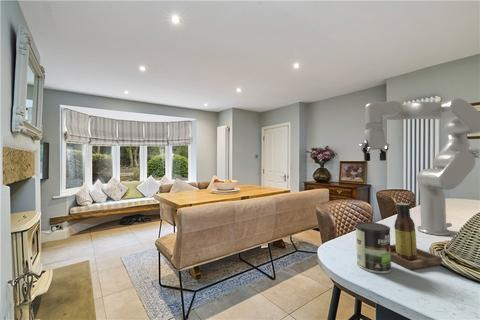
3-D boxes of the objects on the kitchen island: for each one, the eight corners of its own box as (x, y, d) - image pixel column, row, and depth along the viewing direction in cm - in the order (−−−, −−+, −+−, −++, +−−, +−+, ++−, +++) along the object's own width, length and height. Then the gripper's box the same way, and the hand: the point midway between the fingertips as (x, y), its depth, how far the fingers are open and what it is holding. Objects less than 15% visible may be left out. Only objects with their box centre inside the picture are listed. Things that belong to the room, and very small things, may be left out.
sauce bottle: (409, 253, 84) (408, 201, 84) (421, 261, 77) (419, 205, 78) (391, 253, 84) (390, 202, 84) (401, 260, 78) (400, 205, 78)
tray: (403, 249, 89) (403, 243, 89) (442, 264, 76) (442, 257, 76) (375, 253, 86) (375, 247, 86) (410, 270, 72) (410, 263, 72)
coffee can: (397, 268, 74) (396, 227, 74) (380, 277, 69) (378, 232, 69) (368, 257, 83) (366, 220, 83) (350, 263, 78) (349, 224, 78)
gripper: (381, 128, 117) (382, 160, 116) (354, 128, 112) (355, 161, 112) (394, 126, 109) (395, 160, 109) (366, 125, 105) (367, 161, 105)
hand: (375, 160), depth 111 cm, fingers open, 9 cm apart
